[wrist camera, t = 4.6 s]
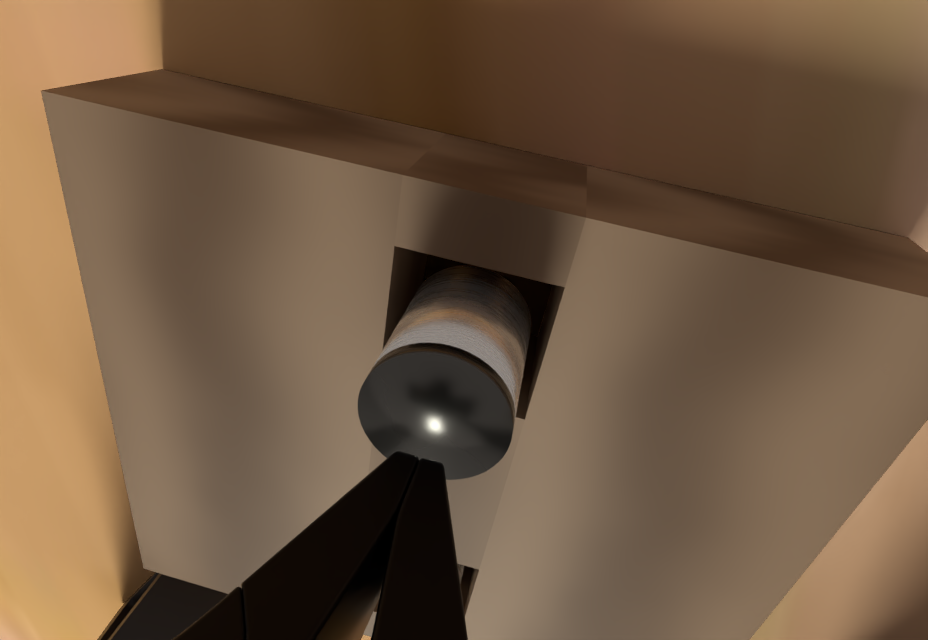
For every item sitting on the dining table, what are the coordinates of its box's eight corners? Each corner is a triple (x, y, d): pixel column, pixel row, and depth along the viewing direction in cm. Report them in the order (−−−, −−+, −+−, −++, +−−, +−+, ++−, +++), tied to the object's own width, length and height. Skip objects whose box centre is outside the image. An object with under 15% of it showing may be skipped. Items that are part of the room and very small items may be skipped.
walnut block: (908, 237, 14) (1010, 316, 11) (664, 619, 23) (677, 728, 19) (161, 69, 15) (41, 90, 12) (205, 488, 24) (143, 568, 21)
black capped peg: (544, 283, 13) (529, 379, 10) (516, 383, 14) (495, 495, 11) (419, 252, 13) (363, 336, 10) (404, 355, 15) (352, 456, 11)
